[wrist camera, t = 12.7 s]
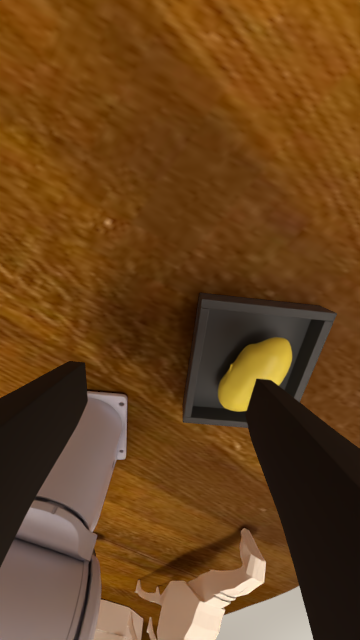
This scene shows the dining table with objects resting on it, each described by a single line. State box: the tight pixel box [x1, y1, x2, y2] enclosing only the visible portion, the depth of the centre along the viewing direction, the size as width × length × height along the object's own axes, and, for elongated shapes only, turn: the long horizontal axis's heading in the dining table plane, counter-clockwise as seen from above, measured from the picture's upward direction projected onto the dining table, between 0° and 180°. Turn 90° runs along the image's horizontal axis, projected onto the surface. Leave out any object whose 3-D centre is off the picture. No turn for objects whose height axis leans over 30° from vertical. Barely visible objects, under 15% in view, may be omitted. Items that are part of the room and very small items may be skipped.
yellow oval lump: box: [218, 337, 292, 412], centre depth 16 cm, size 4×8×4 cm, turn 143°
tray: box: [183, 293, 337, 428], centre depth 18 cm, size 12×10×2 cm
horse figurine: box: [127, 528, 266, 640], centre depth 29 cm, size 5×16×25 cm
